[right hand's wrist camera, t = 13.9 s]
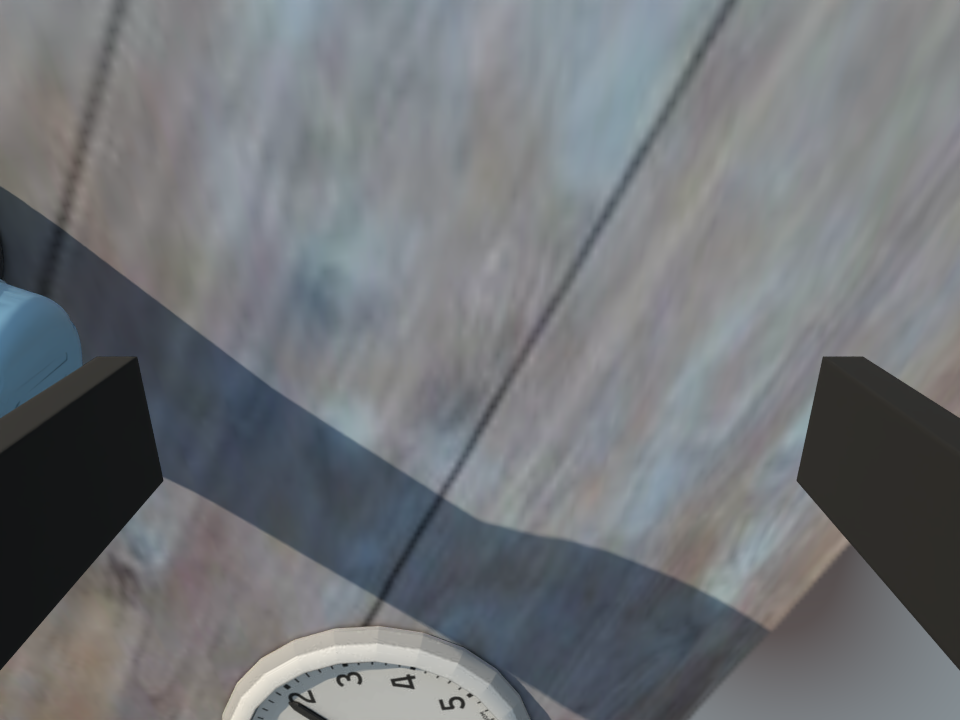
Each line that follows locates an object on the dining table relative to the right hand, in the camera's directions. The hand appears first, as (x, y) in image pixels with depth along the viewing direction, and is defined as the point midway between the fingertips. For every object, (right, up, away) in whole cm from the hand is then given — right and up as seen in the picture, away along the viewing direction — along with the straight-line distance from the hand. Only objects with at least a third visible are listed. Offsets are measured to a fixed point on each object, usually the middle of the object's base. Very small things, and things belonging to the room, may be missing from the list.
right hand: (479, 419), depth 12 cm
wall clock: (-10, -36, +48) cm, 61 cm away
